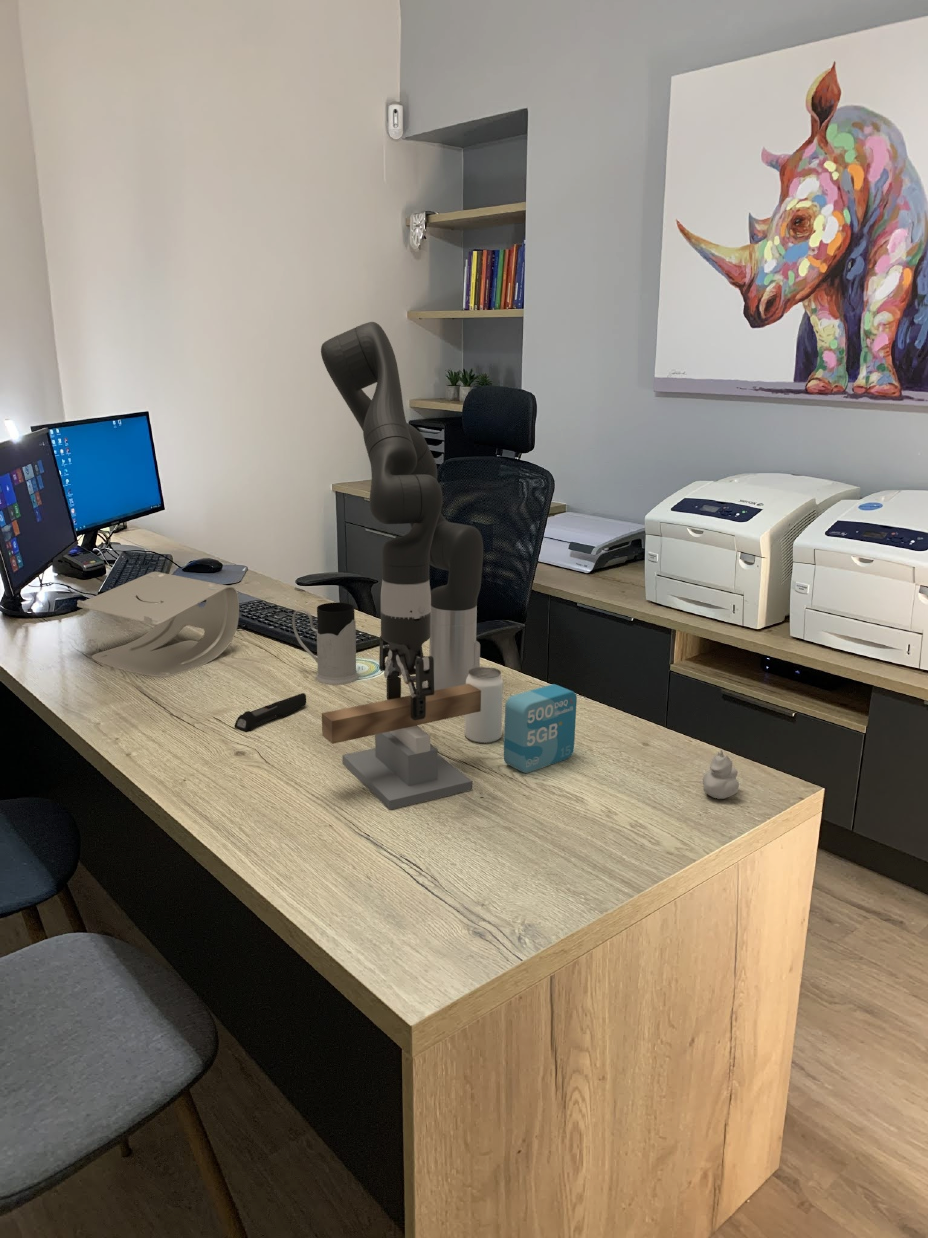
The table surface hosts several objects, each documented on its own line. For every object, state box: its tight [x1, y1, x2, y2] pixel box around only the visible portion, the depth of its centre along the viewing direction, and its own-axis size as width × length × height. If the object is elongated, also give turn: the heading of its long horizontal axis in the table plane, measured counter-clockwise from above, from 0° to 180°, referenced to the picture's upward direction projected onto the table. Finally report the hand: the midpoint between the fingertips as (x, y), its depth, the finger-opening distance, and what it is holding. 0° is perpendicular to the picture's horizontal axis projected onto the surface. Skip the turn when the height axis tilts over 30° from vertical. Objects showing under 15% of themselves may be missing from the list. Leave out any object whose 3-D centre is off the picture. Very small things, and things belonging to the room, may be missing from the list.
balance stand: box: [341, 725, 473, 811], centre depth 144 cm, size 14×18×9 cm
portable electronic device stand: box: [76, 571, 240, 678], centre depth 199 cm, size 26×24×16 cm
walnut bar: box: [321, 684, 481, 745], centre depth 143 cm, size 26×4×4 cm, turn 122°
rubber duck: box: [702, 748, 740, 800], centre depth 140 cm, size 5×7×8 cm
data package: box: [503, 683, 578, 774], centre depth 150 cm, size 12×4×12 cm, turn 129°
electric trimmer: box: [234, 692, 307, 733], centre depth 168 cm, size 4×16×3 cm, turn 143°
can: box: [464, 666, 504, 744], centre depth 160 cm, size 6×6×12 cm
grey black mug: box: [291, 602, 359, 686], centre depth 188 cm, size 9×14×15 cm, turn 71°
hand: (405, 709), depth 142 cm, fingers open, 8 cm apart
